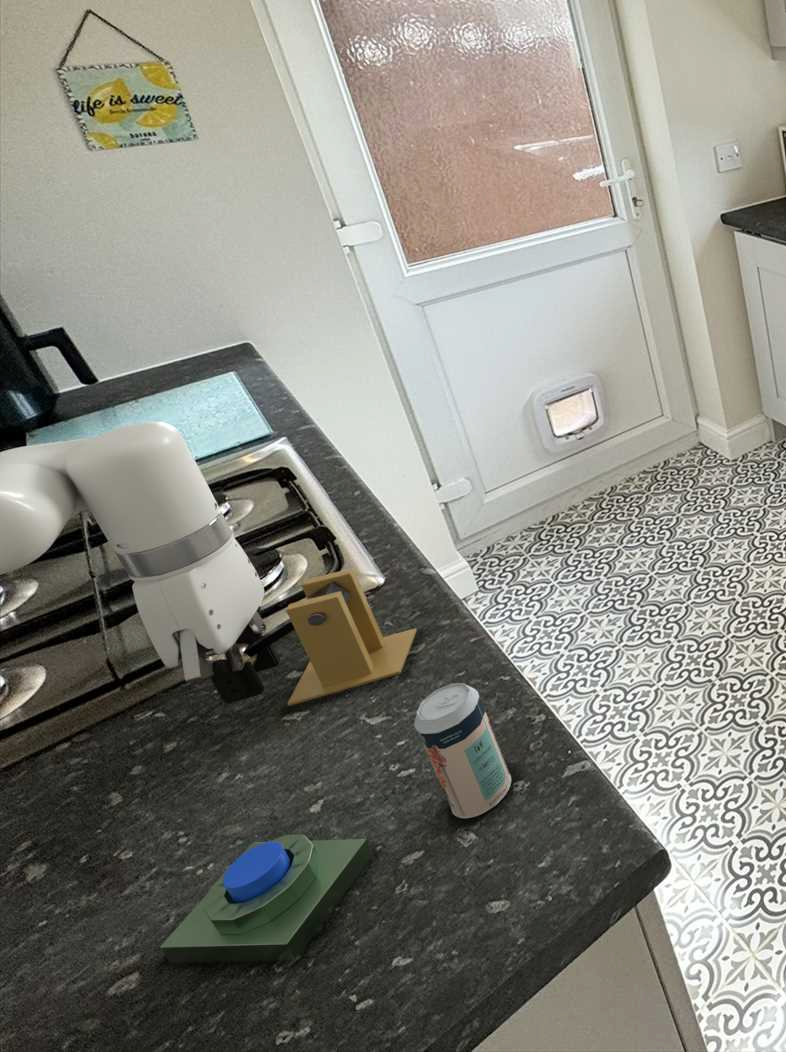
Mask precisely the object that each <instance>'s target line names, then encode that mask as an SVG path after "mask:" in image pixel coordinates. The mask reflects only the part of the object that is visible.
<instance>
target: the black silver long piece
mask: <svg viewBox="0 0 786 1052" xmlns="http://www.w3.org/2000/svg"><path fill="white" fill-rule="evenodd" d="M339 591H341V593H342V596H343V598H344V600H345V602H346V603H347V601H348V599H349V597H350V595H351V593H350V592H348V591H347V590H345V589H344V588H343V587H341V586H340V585H338V584H337V583H336V582H334V581H332V582H331V583H329V584H327V585H326V586H324V587H323V588H321V589H320V590H318V591H317V592H315V593H313V594H312V595H310V596H309V597H308V599H312V598H316V597H320V596H323V595H327V594H331V593H335V592H339ZM308 599H307V598H306V600H308ZM293 631H295V628H294V626H293V624H292V622H291V620H290V618H289V617H288V619H286V620H285V621H283V622H282V623H280V624H278V625H276V627H273V628H272V629H271V630H269V631H268V632H266V633H265V634H262V637H260V638H258V639H257V640H255V641H254V642H252V643H251V644H249V645H248V644H237V646H238V648H239V651H240V653H241V655H242V658H243V660H244V663H245V662H249V661H250V662H251V664H252V666H253V665H254V664H255V662H256V659H257V653H259V652H261V651H262V650H264V649H265V648H267V647H268V646H270V645H271V644H272V645H273V644H275V643H276V642H278V641H279V640H280V639H282V638H284V637H285V636H287V635H288V634H290V633H291V632H293ZM220 659H227V658H226V656H225V653H224V654H221V655H218V654H217V656H216V658H215V660H214V661H216V660H220Z"/></svg>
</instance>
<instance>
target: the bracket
mask: <svg viewBox="0 0 786 1052" xmlns="http://www.w3.org/2000/svg"><path fill="white" fill-rule="evenodd" d="M332 581H334V582H336V583H337V584H338V585H340V586H341V587H343V588H344V589H345V590H347V591H348V592H350V593H351V595H350V597H349V599H348V601H347V603H346V602H345V600H344V598H343V596H342V593H341V591H339V592H335V593H331V594H327V595H323V596H320V597H316V598H312V599H308V597H309V596H310V595H312V594H313V593H315V592H317V591H318V590H320V589H321V588H323V587H324V586H326V585H327V584H329V583H331V582H332ZM300 586H301V588H302V591H303V592H304V594H305V597H306V599H304V600H300V601H296V602H292V603H289V604H288V606H287V607H286V609H285V611H286V614H287V616H288V619H289V618H290V620H291V622H292V624H293V626H294V628H295V629H294V631H295V632H296V634H297V636H298V639H299V641H300V643H301V645H302V646H303V649H304V651H305V653H306V656H307V657H308V660H309V662H308V664H307V666H306V668H305V670H304V671H303V674H302V675H301V677H300V679H299V681H298V683H297V685H296V686H295V688H294V690H293V692H292V694H291V695H290V698H289V699H288V702H287V706H288V707H290V706H293V705H297V704H300V703H304V702H308V701H310V700H313V699H317V698H321V697H323V696H327V695H331V694H335V693H338V692H341V691H344V690H349V689H352V688H356V687H359V686H362V685H366V684H369V683H372V682H377V681H379V680H383V679H387V678H390V677H394V676H396V675H400V674H401V673H402V670H403V668H404V665H405V663H406V661H407V658H408V655H409V653H410V650H411V648H412V645H413V642H414V639H415V637H416V634H417V631H418V629H417V628H416V627H415V628H411V629H408V630H404V631H400V632H397V633H392V634H389V635H387V636H386V635H385V636H384V635H383V634H382V631H381V629H380V627H379V625H378V623H377V620H376V618H375V616H374V615H375V614H374V613H373V611H372V609H371V606H370V603H369V601H368V599H367V597H366V595H365V593H364V590H363V588H362V585H361V583H360V581H359V579H358V576H357V574H356V572H355V569H354V568H348V569H344V570H340V571H336V572H331V573H327V574H324V575H320V576H316V577H311V578H307V579H304V580H303V582H302V583H301V585H300ZM307 599H308V600H307Z"/></svg>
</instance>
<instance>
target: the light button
mask: <svg viewBox="0 0 786 1052" xmlns="http://www.w3.org/2000/svg"><path fill="white" fill-rule="evenodd" d="M266 842H267V843H263V844H261V845H258V846H256V847H254V848H252V849H250V850H249V851H247V852H246V853H244V852H243V853H244V854H243V853H242V854H243V855H242V854H241V855H240V856H239V857H238V858H236V860H234V861H233V862H232V863H231V864H230V866H229V867H227V869H228V870H227V869H226V870H227V871H226V870H225V871H226V873H225V875H224V878H223V884H224V886H225V888H226V889H227V891H228V893H229V894H230V896H231V897H232V899H233V900H234V901H236V902H247V901H249V900H251V899H254V898H256V897H258V896H261V895H263V894H264V893H265V892H267V891H268V890H269V889H271V888H272V887H273V886H275V885H276V884H277V883H279V882H280V880H281V879H282V878H283V877H284V876H285V874H286V873H287V872H288V870H289V867H290V859H289V857H288V855H287V853H286V852H285V850H284V848H283V846H282V845H281V844H280V843H278V842H270V841H266Z"/></svg>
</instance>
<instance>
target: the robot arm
mask: <svg viewBox="0 0 786 1052" xmlns="http://www.w3.org/2000/svg"><path fill="white" fill-rule="evenodd" d="M83 511H89V512H90V514H91V515H92V516H93V518H94V520H95V522H96V523H97V525H98V526H99V528H100V530H101V531H102V533H103V535H104V536H105V538H106V540H107V542H108V543H109V545H110V547H111V548H112V550H113V551H114V554H115V555H116V557H117V558H118V560H119V562H120V563H121V565H122V567H123V569H124V570H125V571H126V573H127V575H128V577H129V578H130V580H132V581H134V582H133V584H132V586H131V587H132V593H133V597H134V601H135V604H136V605H135V606H136V608H137V611H138V614H139V616H140V620H141V621H142V624H143V627H144V628H145V631H146V633H147V635H148V637H149V640H150V641H151V643H152V646H153V647H154V649H155V651H156V653H157V655H158V656H159V659H160V661H162V663H163V664H164V666H165V667H166V668H168V669H174V668H177V667H179V666H180V665H181V664H182V668H183V669H182V670H183V677H184V681H185V683H187V684H190V683H194V682H197V681H200V680H204V679H205V680H210V681H211V682H212V684H213V686H214V687H215V689H216V691H217V692H218V694H219V696H220V697H221V700H222V702H224V703H225V704H232V703H235V702H239V701H242V700H245V699H249V698H253V697H257V696H259V695H261V694H263V692H264V690H265V686H264V684H263V682H262V680H261V678H260V676H259V675H258V672H262V671H265V670H269V669H273V668H275V667H277V666H279V664H280V663H281V658H280V656H279V654H278V653H277V650H276V649H275V646H274V645H273V644H271V645H270V646H268V647H267V648H265V649H264V650H262V651H261V652H259V653H257V659H256V662H255V664H254V665H253V666H252V664H251V662H250V661H249V662H245V663H244V660H243V658H242V655H241V653H240V651H239V648H238V646H237V644H248V645H249V644H251V643H252V642H254V641H255V640H257V639H258V638H260V637H262V636H263V635H265V634H266V633H267V624H266V622H265V621H264V620H263V619H262V617H261V615H262V614H261V613H262V609H261V608H262V606H261V604H262V602H263V600H264V597H265V593H266V592H265V588H264V586H263V583H262V580H261V578H260V576H259V574H258V572H257V570H256V568H255V566H254V565H253V563H252V562H251V560H250V558H249V557H248V555H247V553H246V552H245V550H244V549H243V548H242V546H241V545H240V543H239V541H238V540H236V538H235V535H234V533H233V531H232V529H231V527H230V525H229V523H228V521H227V519H226V517H225V515H224V514H223V512H222V510H221V508H220V506H219V504H218V502H217V500H216V499H215V496H214V495H213V492H212V491H211V488H210V487H209V484H208V483H207V480H206V479H205V477H204V475H203V473H202V470H201V469H200V467H199V465H198V462H197V461H196V460H195V458H194V455H193V453H192V451H191V450H190V447H189V446H188V444H187V442H186V440H185V438H184V437H183V435H182V434H181V432H180V430H178V429H177V428H176V427H175V426H173V425H172V424H169V423H167V422H161V421H146V422H138V423H132V424H128V425H124V426H121V427H118V428H113V429H110V430H108V431H105V432H104V431H103V432H102V433H99V434H97V435H95V436H89V437H82V438H76V439H69V440H63V441H54V442H45V443H38V444H31V445H25V446H19V447H14V448H10V449H6V450H3V451H0V576H1V575H4V574H8V573H11V572H12V573H13V572H14V571H16V570H19V569H21V568H24V567H25V566H27V565H29V564H31V563H33V562H34V561H36V560H38V559H39V558H40V557H42V555H43V554H45V553H46V552H47V551H48V550H49V549H50V548H51V546H52V545H53V544H54V542H55V541H56V540H57V538H58V537H59V536H60V534H61V532H62V531H63V530H64V528H65V527H66V525H67V523H68V522H69V521H70V520H71V519H72V518H74V517H75V516H76V515H78V514H79V513H81V512H83ZM224 653H225V656H226V658H227V659H220V660H216V659H215V660H216V661H215V660H214V657H213V656H216V655H217V656H218V655H221V654H224Z"/></svg>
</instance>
